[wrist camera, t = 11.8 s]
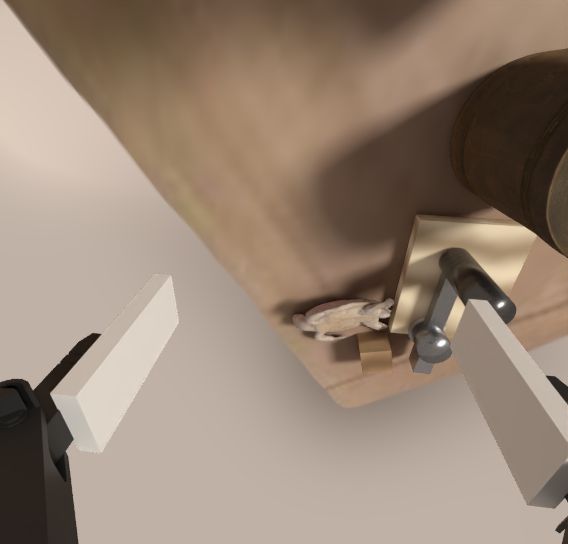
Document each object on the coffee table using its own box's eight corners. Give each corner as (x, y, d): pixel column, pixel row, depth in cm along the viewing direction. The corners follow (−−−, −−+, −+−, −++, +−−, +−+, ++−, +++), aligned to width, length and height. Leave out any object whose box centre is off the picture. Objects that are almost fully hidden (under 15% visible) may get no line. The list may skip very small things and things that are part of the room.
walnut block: (357, 333, 52) (359, 353, 48) (385, 330, 51) (391, 350, 47) (359, 353, 54) (363, 374, 50) (387, 351, 53) (392, 372, 49)
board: (416, 214, 41) (421, 220, 39) (531, 221, 40) (541, 228, 38) (386, 331, 51) (388, 341, 49) (477, 340, 50) (483, 350, 48)
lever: (431, 360, 50) (457, 425, 40) (402, 357, 50) (421, 421, 41) (477, 249, 40) (526, 300, 30) (441, 245, 40) (478, 295, 31)
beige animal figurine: (377, 263, 49) (377, 278, 39) (410, 316, 49) (417, 343, 40) (294, 310, 54) (276, 333, 45) (324, 357, 54) (312, 389, 45)
